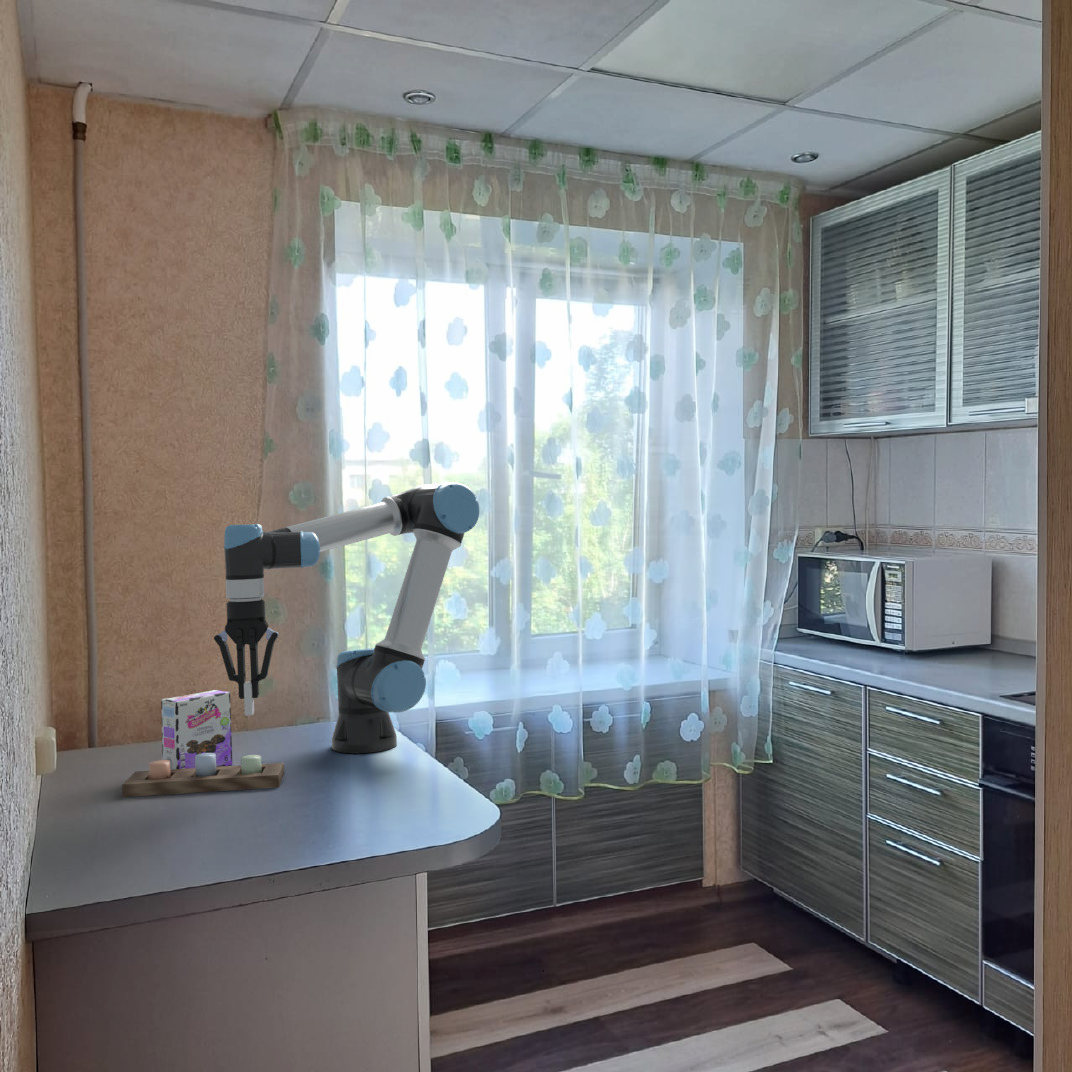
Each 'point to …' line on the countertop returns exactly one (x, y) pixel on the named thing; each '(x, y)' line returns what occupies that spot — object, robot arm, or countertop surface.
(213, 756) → the button blue
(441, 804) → the countertop surface
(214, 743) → the candy box
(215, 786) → the panel
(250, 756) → the button sage
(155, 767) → the button terracotta
